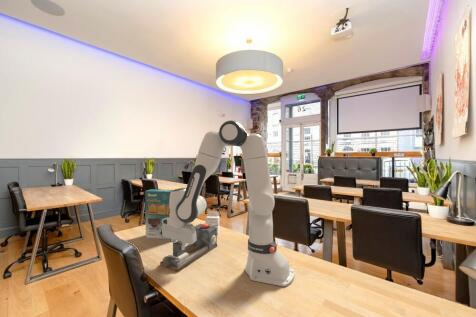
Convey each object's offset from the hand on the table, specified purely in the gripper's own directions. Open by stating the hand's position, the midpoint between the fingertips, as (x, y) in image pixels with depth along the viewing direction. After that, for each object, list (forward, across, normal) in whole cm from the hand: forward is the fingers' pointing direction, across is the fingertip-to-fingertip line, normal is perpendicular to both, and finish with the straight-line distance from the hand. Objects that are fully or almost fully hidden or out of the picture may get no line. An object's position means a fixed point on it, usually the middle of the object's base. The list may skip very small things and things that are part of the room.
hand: (178, 248), depth 108 cm
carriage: (+6, 0, 0) cm, 6 cm away
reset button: (-4, 0, -20) cm, 21 cm away
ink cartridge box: (+7, +8, -39) cm, 40 cm away
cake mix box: (+7, +32, -19) cm, 38 cm away
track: (+7, 0, -9) cm, 11 cm away
